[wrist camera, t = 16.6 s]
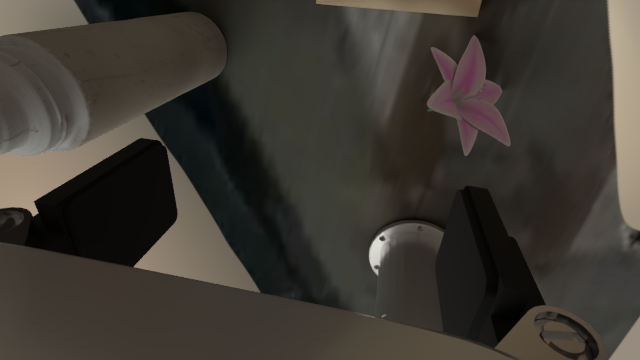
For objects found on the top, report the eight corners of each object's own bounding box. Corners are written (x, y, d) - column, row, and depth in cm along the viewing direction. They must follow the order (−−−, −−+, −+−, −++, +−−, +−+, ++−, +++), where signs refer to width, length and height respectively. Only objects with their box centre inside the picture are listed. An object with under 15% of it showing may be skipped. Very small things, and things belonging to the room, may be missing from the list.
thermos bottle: (157, 52, 44) (-132, 134, 20) (182, -4, 40) (-140, 12, 16) (209, 93, 45) (-3, 215, 21) (239, 42, 41) (20, 121, 17)
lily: (493, 141, 42) (555, 140, 33) (402, 165, 41) (440, 171, 32) (475, 42, 41) (535, 10, 31) (380, 63, 40) (413, 38, 30)
